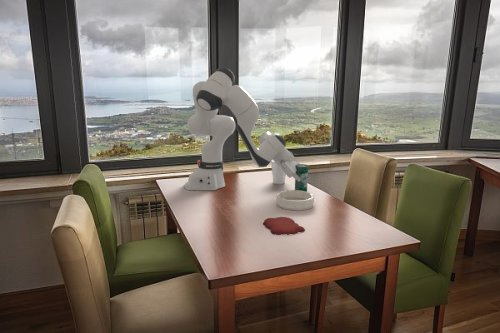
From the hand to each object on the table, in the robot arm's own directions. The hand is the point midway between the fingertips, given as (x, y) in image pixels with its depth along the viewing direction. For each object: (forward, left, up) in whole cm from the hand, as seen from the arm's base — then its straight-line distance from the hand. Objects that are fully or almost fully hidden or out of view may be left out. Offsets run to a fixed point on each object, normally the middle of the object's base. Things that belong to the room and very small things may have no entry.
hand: (301, 178), depth 192 cm
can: (0, 0, -8) cm, 8 cm away
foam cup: (-6, +22, -8) cm, 25 cm away
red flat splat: (-21, -41, -9) cm, 47 cm away
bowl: (-8, -16, -8) cm, 20 cm away
